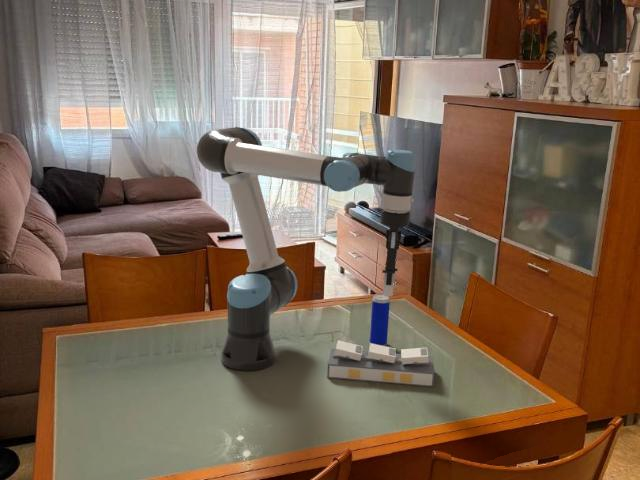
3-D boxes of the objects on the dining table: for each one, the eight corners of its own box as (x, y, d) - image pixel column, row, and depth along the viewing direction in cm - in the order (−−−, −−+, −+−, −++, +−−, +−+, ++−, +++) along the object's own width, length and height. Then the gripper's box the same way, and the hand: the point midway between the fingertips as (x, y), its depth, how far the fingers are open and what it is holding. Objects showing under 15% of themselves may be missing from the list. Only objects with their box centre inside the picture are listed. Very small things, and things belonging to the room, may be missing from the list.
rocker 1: (334, 356, 165) (336, 348, 164) (336, 347, 170) (338, 339, 169) (359, 362, 164) (361, 354, 164) (360, 353, 170) (362, 345, 169)
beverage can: (386, 341, 189) (389, 294, 185) (386, 347, 184) (390, 300, 180) (369, 339, 189) (372, 293, 186) (369, 346, 185) (372, 299, 181)
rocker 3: (402, 366, 163) (401, 357, 163) (401, 357, 168) (401, 348, 168) (428, 364, 162) (428, 355, 162) (427, 355, 168) (426, 346, 167)
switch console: (326, 378, 164) (327, 362, 162) (330, 361, 174) (331, 346, 173) (433, 387, 161) (435, 371, 160) (431, 369, 171) (432, 354, 170)
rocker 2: (367, 359, 164) (369, 351, 163) (368, 350, 169) (370, 342, 169) (393, 365, 163) (395, 356, 163) (393, 356, 169) (395, 348, 168)
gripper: (410, 216, 154) (401, 304, 160) (410, 206, 166) (401, 288, 173) (380, 213, 155) (372, 301, 161) (382, 203, 167) (374, 285, 173)
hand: (387, 294), depth 167 cm, fingers closed
